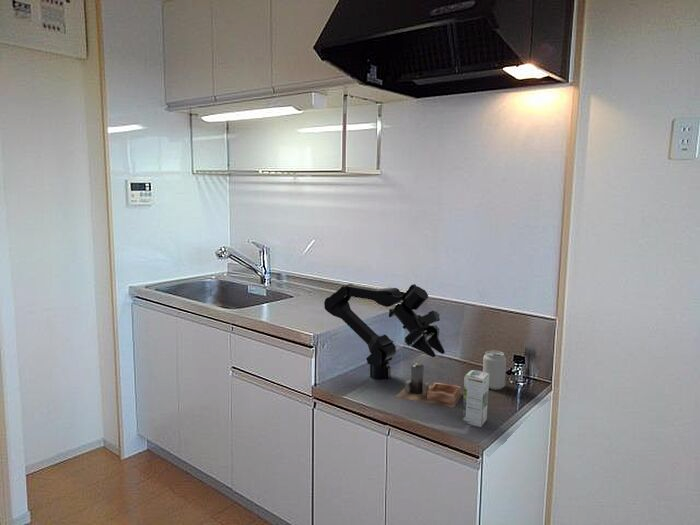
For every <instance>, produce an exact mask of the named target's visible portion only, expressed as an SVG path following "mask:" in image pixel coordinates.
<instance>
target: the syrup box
mask: <svg viewBox="0 0 700 525" xmlns="http://www.w3.org/2000/svg"><path fill="white" fill-rule="evenodd" d="M463 384H464V385H463V391H464V393H463V400H462V401H463V402H462V420H461V421H464V422H466V424H467V425H469V424H470V426H473V427H474V426H475V427H479V428H482V427H483V425H484V424H485V423H486V422H487V419H488V409H489V408H488V406H489V405H488V404H489V390H490V389H489V374H488V373H485V372H483V371H480V370H474V369H472V370H470V371H468V373H466V374H465V376H464V379H463Z"/></svg>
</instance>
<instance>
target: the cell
mask: <svg viewBox="0 0 700 525" xmlns="http://www.w3.org/2000/svg"><path fill="white" fill-rule="evenodd" d="M424 367H425V365H424V364H423V363H420V362H415V363H411V366H410V368H411V370H410V371H411V372H410V373H411V374H410V380H411V392H412V393H413V394H422V392H423V385H424V378H425V376H424V375H425V374H424V372H425V371H424V370H425V368H424Z"/></svg>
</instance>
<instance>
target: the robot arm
mask: <svg viewBox="0 0 700 525" xmlns="http://www.w3.org/2000/svg"><path fill="white" fill-rule="evenodd" d="M352 298H357V299H358V298H359V299H363V300H369V301H373V302H375V303H376V304H378V305H380V306H382V307H386V308H388V307H392V306H394V308H390V309H389V308H388V310H389V312H388V317H389V318H392V317H396V318H397V319H398V321H399V322H400V323H401V325H402V329H403V330H407V331H408V332H409V333H408V334H407V335H406V336H405V337H404V343H405V344H406V345H407V347H411V348H413V349H415V350H418V351H420V352H422V353H424V354H426V355H427V356H429V357H431V358H435V357H436V356H437V354H436V353H435V351H437V352H439V353H440V354H441V355H443V354H445V353H446V351H445V349H444V346H443V345H442V343H441V340H440V338H439V335H440V327H438V326H437V325H435V324H433V323H436V322H439V321H441V318H440V316H441V314H440V313H438V311H435V310H430V311H428V312H427V313H426V314H424V315H421V314H417V313H416V312H415V311H418V309H419V308H420V307H421V306H422V305H423V304H424V303H425V301H427V300H428V298H429V294H428V292H427V291H426V290H425V289H424V288H422V287H420V286H419V285H418V286H417V285H416V283H414V284H411V285H410V286H409V287H408V289H407V290H406V291H401V290H400V289H399V288H397V287H386V288H374V287H368V286H362V285H355V284H353V283H348V284H344V285H342V286H341V287H340V288H339V289H338V290H337V291H335V292H334V293H332V294H331V295H330V296H329V297H326V298H325V299H324V303H323V305H324V307H323V308H324V310H325V311H326V312H328V313H329V314H330V315H332V316H334V317H336V318H339V319H341V320H342V321H343V322H344V323H345V324H346V325H347V326H348V327H349V328H350V329H351V330H352V331H354V333H355V334H356V335H357V336H358V337H359V338H360V339H361V340H362V341H363V342H364V343H366V345H367V347H368V350H369V353H370V354H369V355H368V356H367V357H366V362H367V365H369V377H370V378H372V379H375V380H389V379H390V378H392V377H391V375H392V373H391V372H392V369H391V368H392V367H391V365H390V361H392V360H393V357H394V356H395V355H396V354H397V353H396V352H397V349H396V348H397V346H396V345H395V343H394V341H393V340H392V339H390V338H389V336H388V335H386V334H382V335H378V334H377V333H376V332H375V331H374V330H373V329H372V328H371V327H370V326H368V324H366V323H365V321H364V320H362V319H361V318H360V317H359V316H358V315H357V314H356V313H355V312H354V311H353V310H352V309H351V304H350V303H349V301H350V300H351V299H352ZM414 310H415V311H414ZM434 350H435V351H434Z"/></svg>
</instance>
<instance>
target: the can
mask: <svg viewBox="0 0 700 525" xmlns="http://www.w3.org/2000/svg"><path fill="white" fill-rule="evenodd" d="M482 360H483V361H482V362H483V363H482V372H485V373H488V374H489V390H495V391H498V390H502V389H503V388H504V387H505V386H506V375H507V374H506V372H507V370H506V368H507V366H506V365H507V357H506V356H505V353H504V352H502V351H500V350H488V351H485V354H484V355H483V359H482Z"/></svg>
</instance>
